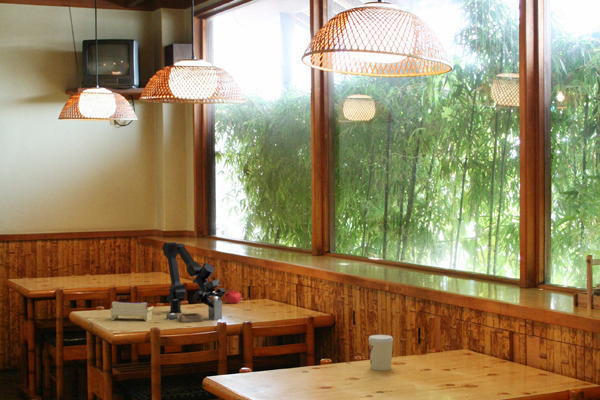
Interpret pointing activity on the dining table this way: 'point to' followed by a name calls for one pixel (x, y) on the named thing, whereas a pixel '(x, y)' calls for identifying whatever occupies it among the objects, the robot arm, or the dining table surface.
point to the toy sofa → (131, 310)
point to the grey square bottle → (215, 309)
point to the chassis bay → (190, 317)
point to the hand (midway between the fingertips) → (216, 307)
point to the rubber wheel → (171, 316)
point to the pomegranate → (232, 297)
